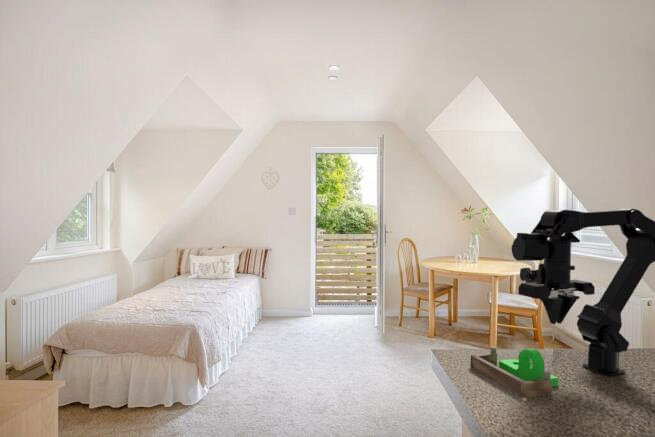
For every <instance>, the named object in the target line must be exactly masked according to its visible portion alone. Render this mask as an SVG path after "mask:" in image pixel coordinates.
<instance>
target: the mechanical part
mask: <svg viewBox="0 0 655 437" xmlns="http://www.w3.org/2000/svg"><path fill="white" fill-rule="evenodd" d="M498 367H499V368H501V369H503V370H505V371H507V372H509V373H511V374H513V375H514V376H516V377H518V378H520V379H522V380H524V381H530V380H536V379H542V378H543V371H545V360H544V357H543V355H542V354H541V353H540V351H538V350H537V349H536V348H525V349H521V351H520V352H519V353H518V359H513V358H512V359H510V358H509V359H503V360H499V361H498ZM550 379H551V380H552V384H551V388H553V387H557V386H559V377H557V376H556V375H553V374H551V377H550Z"/></svg>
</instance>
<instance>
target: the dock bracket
mask: <svg viewBox="0 0 655 437" xmlns="http://www.w3.org/2000/svg"><path fill="white" fill-rule="evenodd" d="M489 349H490V351H489V352H485V353H477V354H471V355H470V367H471V368H472V369H473V370H475V371H477V372H478V373H481V374H482V375H484V376H486V377H487V378H489V379H491V380H492V381H494V382H496V383H498V384H499V385H501V386H503V387H505V388H506V389H508V390H510V391H511V392H513V393H515V394H517V395H519V396H520V397H523V398H524V399H529V398H535V397H541V396H545V395H546V396H547V395H551V394H552V387H551V384H552V380H551V379H550V377H551V375H552V373H551V372H550V371H547V370H544V371H543V378H542V379H536V380H530V381H524V380H522V379H520V378H518V377H516V376H514V375H513V374H511V373H509V372H507V371H505V370H503V369H501V368H499V366H498V353H497V346H490V348H489ZM495 365H496V366H495Z"/></svg>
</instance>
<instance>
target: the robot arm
mask: <svg viewBox="0 0 655 437" xmlns="http://www.w3.org/2000/svg"><path fill="white" fill-rule="evenodd" d="M609 226H619V228H620V231H621V234H622V235H623V236H624V237H625V238H626V239H627V240H626V243H625V248H626V256H625V258H624V260H623V261H622V263H621V264H620V266H619V268H618V269H617V271H616V272H615V275H614V276H613V278H612V280H611V281H610V283H609V284H608V286H607V287H606V289H605V291H604V293H603V294H602V296H601V297H600V299H599V301H598V302H597V303H595V304H593V305H591V304H585V305H584V306H583V308H582V310H581V312H580V313H579V314H578V315H577V318H578V319H577V322H576V326H577V330H578V331H579V334H581V337H582V340H583V341H585V342H588V343H589V344H588V352H587V363H582V367H584V368H586V369H588V370H591V371H593V372H596V373H598V374H601V375H603V376H606V377H610V376H615V375H617V376H618V375H622V374H625V373H626V370H624V369H621V368H620V354H621V353H622V352H627V351H628V348H629V346H630V342H629V341H628V339H626V338H625V337H624V336H623V335H622V334H621V333H620V331H621V329H622V312H623V310H624V309H625V307H626V305H627V304H628V302H629V301H630V298H631V296H632V295H633V294H634V293H635V290H636V288H637V287H638V284H639V283H640V282H641V280H642V278H643V277H644V275H645V274H646V272H647V270H648V268H649V267H650V266H651V264H653V263H654V262H655V220H653V219H651V218H649V217H648V216H646V215H645V214H644V213H643V212H642V211H641V210H639V209H636V208H619V209H616V210H615V209H611V210H600V211H599V210H597V211H585V212H583V211H579V210H571V209H548V210H545V211H543V213H542V214H541V217H540V220H539V221H538V223H537V224H536V225H535V227H534V228H533V230H532V231H531V232H530V233H528V232H527V233H526V232H517V233H516V237H515V238H514V240H513V243H512V245H511V254H512V256H513V258H514V259H515V260H516V261H517V262H518V261H527V262H528V261H530V262H531V261H536V262H538V261H543V263H539V265H538V269H534V270H533V269H531V268H530V267H522V268H520V269H519V278H520V280H521V281H522V282H521V283H520V284H519V285H518V295H520V296H521V295H522V296H525V297H528V298H532V299H537V300H540V301H541V302H542V304H543V306H544V308H545V311H546V314H547V317H548V320H549V322H550V324H552V325H556V323H557V324H562V323H563V322H564V320H565V318H566V316H567V315H568V313H570V312H569V311H570V310H571V308H572V307H573V306H574V304H575V303H576V302H577V301H578V300H580V296H578V295H575V292H581V293H583V294H584V295H586V296H588V295H589V296H590V295H595V287H596V286H594V284H593V283H592V282H591V281H586V280H585V281H583V280H579V279H571V271H575V269H576V265H572V263H571V260H572V243H580V242H581V240H580V239H579V238H578V237H577V236H576V235H575V234H574V233H575V232H580V231H581V230H583V229H586V228H594V227H609Z"/></svg>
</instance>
